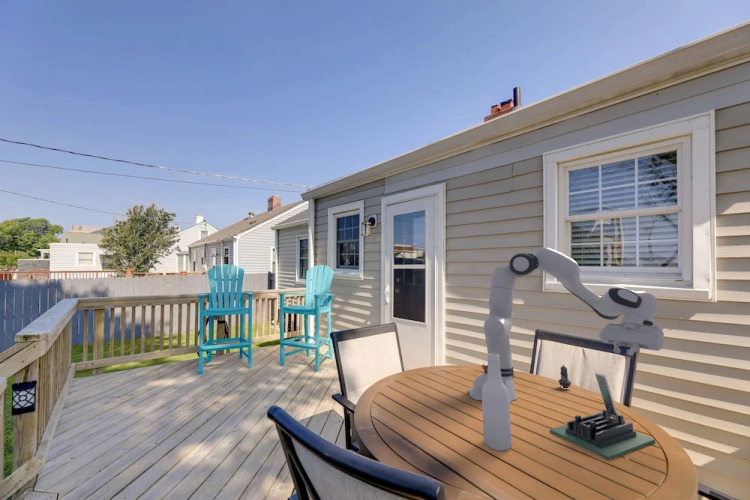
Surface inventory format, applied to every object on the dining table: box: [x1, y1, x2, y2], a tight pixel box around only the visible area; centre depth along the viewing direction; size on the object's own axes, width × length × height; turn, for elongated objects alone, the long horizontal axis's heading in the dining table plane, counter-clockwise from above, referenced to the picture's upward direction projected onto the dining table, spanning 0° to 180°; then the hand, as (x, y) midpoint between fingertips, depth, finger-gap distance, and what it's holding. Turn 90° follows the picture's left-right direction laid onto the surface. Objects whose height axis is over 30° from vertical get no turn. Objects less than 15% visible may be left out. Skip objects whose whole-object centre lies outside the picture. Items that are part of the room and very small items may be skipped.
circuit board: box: [549, 424, 656, 461], centre depth 111 cm, size 26×20×1 cm
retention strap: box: [594, 373, 618, 419], centre depth 114 cm, size 17×3×1 cm
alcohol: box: [481, 353, 512, 452], centre depth 107 cm, size 9×9×30 cm
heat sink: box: [565, 408, 637, 448], centre depth 111 cm, size 20×12×6 cm, turn 114°
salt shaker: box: [557, 364, 572, 388], centre depth 162 cm, size 6×6×12 cm
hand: (622, 353), depth 120 cm, fingers open, 3 cm apart
